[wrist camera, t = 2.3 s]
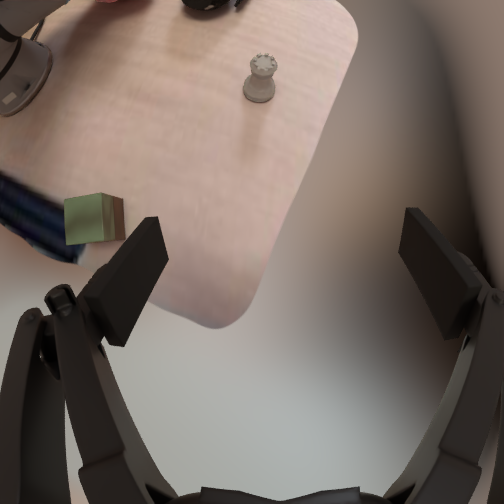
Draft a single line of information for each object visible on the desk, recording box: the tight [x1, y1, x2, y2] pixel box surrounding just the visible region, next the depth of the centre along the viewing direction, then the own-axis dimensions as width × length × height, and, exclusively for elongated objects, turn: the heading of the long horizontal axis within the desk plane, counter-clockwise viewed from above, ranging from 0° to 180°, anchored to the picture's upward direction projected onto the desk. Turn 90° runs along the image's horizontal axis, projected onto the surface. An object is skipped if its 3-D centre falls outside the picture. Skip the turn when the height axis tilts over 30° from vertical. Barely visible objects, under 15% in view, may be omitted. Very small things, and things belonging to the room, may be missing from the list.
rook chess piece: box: [243, 53, 277, 102], centre depth 32 cm, size 4×4×8 cm
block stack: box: [64, 193, 125, 245], centre depth 33 cm, size 6×6×7 cm
